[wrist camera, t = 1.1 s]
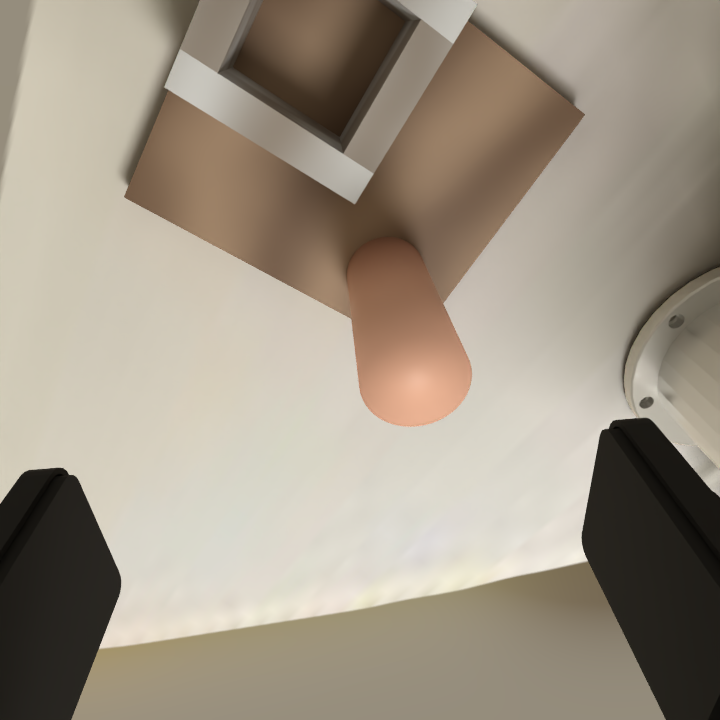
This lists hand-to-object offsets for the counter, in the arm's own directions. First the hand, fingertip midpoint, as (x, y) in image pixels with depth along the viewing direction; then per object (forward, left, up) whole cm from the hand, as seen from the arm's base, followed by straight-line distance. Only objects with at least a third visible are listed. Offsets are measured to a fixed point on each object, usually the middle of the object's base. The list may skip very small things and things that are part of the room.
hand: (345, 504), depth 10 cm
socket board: (0, -3, -20) cm, 20 cm away
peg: (-4, +1, -19) cm, 19 cm away
